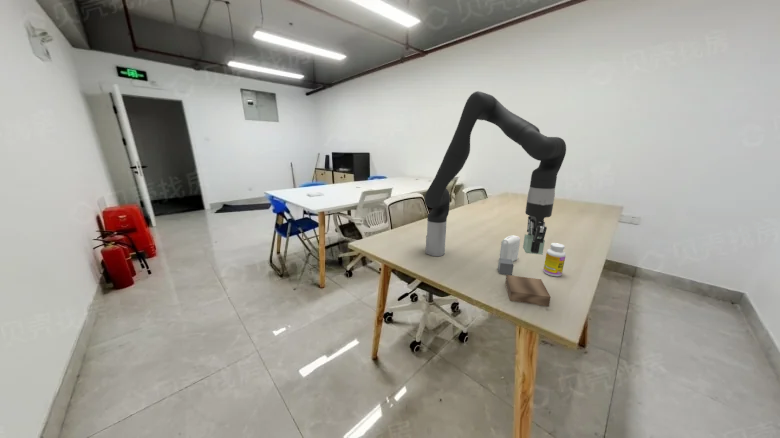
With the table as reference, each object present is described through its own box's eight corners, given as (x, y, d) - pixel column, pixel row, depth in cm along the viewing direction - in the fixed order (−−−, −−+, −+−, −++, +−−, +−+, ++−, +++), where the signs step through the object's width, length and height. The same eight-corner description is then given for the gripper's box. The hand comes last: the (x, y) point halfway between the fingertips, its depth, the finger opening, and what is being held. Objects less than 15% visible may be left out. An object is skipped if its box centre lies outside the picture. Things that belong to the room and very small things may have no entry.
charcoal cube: (499, 273, 105) (500, 263, 104) (497, 268, 110) (499, 258, 108) (511, 275, 104) (513, 264, 102) (510, 270, 108) (511, 259, 107)
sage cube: (525, 253, 84) (527, 239, 83) (522, 247, 89) (524, 234, 88) (542, 254, 83) (544, 240, 82) (538, 249, 88) (540, 235, 86)
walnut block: (509, 301, 87) (511, 291, 86) (505, 284, 98) (506, 274, 97) (548, 307, 83) (550, 296, 82) (539, 288, 94) (541, 279, 93)
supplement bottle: (557, 278, 101) (563, 249, 97) (540, 272, 106) (545, 244, 102) (564, 273, 104) (570, 245, 101) (547, 268, 109) (552, 240, 106)
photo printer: (510, 256, 121) (513, 232, 118) (518, 259, 118) (522, 235, 114) (497, 261, 116) (500, 236, 112) (506, 265, 112) (509, 239, 109)
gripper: (522, 196, 89) (516, 241, 93) (532, 205, 76) (524, 256, 80) (546, 197, 87) (539, 243, 91) (560, 206, 73) (551, 259, 78)
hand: (532, 249), depth 86 cm, fingers closed on sage cube, 5 cm apart
